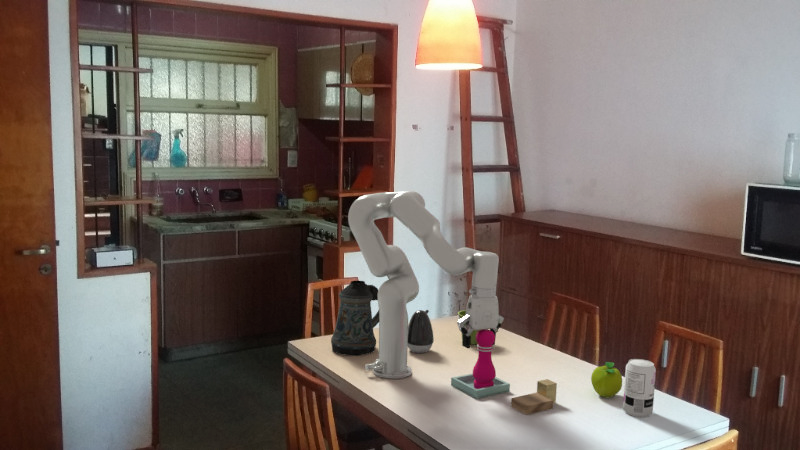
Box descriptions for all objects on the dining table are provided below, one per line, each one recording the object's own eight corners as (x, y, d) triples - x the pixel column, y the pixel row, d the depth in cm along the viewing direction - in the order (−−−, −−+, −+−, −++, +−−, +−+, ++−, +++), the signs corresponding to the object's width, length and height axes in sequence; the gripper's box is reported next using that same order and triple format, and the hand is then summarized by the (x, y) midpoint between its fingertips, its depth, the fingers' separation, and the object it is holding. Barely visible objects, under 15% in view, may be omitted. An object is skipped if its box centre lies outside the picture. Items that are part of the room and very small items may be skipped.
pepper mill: (494, 392, 220) (496, 328, 218) (470, 390, 222) (473, 327, 219) (496, 384, 227) (498, 322, 225) (473, 382, 229) (475, 321, 226)
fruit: (621, 392, 225) (623, 361, 223) (620, 403, 216) (622, 371, 215) (591, 388, 228) (593, 358, 226) (589, 398, 219) (591, 367, 218)
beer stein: (321, 348, 261) (322, 281, 258) (358, 338, 276) (360, 274, 272) (353, 359, 250) (355, 289, 247) (391, 347, 265) (392, 281, 261)
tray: (476, 398, 216) (476, 390, 216) (451, 385, 227) (451, 377, 227) (509, 391, 223) (509, 383, 223) (483, 378, 234) (483, 371, 234)
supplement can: (618, 407, 213) (621, 358, 211) (645, 407, 213) (649, 358, 211) (629, 418, 205) (633, 367, 203) (657, 418, 205) (661, 367, 203)
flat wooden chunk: (526, 416, 205) (527, 406, 205) (510, 407, 211) (511, 398, 211) (552, 409, 210) (553, 400, 210) (536, 401, 216) (537, 392, 216)
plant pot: (489, 347, 268) (490, 318, 267) (457, 346, 268) (458, 317, 267) (485, 338, 280) (487, 310, 279) (455, 337, 280) (456, 309, 279)
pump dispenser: (438, 350, 263) (440, 309, 261) (424, 357, 255) (425, 315, 253) (414, 345, 269) (416, 305, 267) (399, 351, 260) (401, 310, 258)
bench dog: (545, 404, 213) (546, 385, 212) (536, 400, 216) (537, 381, 216) (555, 402, 215) (556, 383, 214) (546, 398, 218) (547, 379, 218)
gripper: (468, 297, 213) (463, 352, 216) (513, 293, 223) (507, 346, 225) (453, 291, 220) (449, 344, 222) (497, 287, 229) (492, 339, 231)
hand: (478, 345), depth 224 cm, fingers open, 9 cm apart
